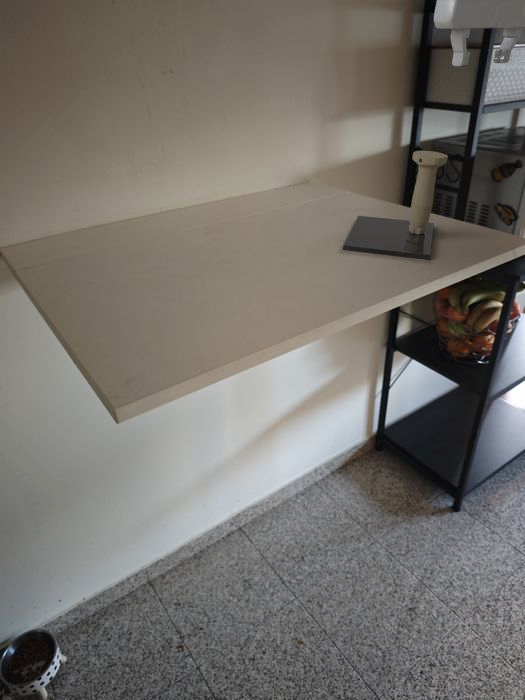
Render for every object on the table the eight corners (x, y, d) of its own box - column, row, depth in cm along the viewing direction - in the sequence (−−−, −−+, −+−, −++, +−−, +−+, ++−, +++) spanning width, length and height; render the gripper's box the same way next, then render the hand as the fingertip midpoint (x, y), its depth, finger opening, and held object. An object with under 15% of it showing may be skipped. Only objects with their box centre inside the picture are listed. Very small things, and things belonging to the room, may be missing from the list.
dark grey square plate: (433, 227, 106) (433, 222, 105) (429, 259, 91) (430, 254, 91) (357, 219, 110) (358, 215, 109) (342, 249, 95) (343, 245, 95)
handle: (413, 225, 104) (426, 149, 95) (437, 234, 99) (453, 155, 91) (396, 230, 101) (408, 152, 93) (420, 239, 97) (434, 159, 89)
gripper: (473, -61, 61) (450, 69, 68) (570, -51, 70) (540, 62, 77) (433, -55, 65) (415, 66, 73) (529, -47, 74) (504, 60, 82)
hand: (480, 64), depth 75 cm, fingers open, 8 cm apart
